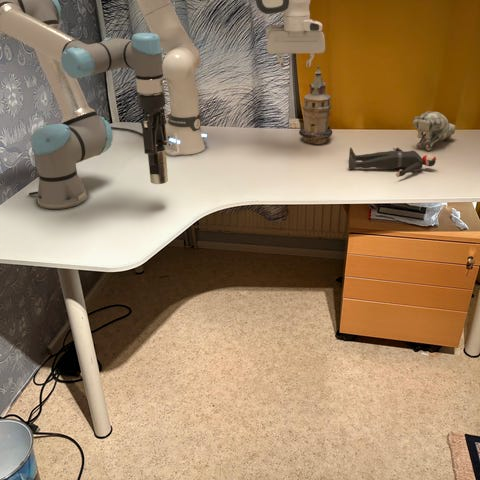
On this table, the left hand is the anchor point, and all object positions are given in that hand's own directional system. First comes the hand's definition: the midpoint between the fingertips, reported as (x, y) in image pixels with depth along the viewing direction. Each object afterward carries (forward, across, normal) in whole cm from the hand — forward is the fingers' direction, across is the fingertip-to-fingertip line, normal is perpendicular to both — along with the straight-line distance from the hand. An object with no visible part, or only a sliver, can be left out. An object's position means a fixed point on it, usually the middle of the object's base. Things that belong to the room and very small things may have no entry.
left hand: (158, 169), depth 161 cm
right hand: (-21, +52, -35) cm, 66 cm away
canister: (+4, 0, 0) cm, 4 cm away
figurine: (+12, +72, -89) cm, 115 cm away
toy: (+12, +45, -71) cm, 85 cm away
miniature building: (+12, +71, -42) cm, 84 cm away
